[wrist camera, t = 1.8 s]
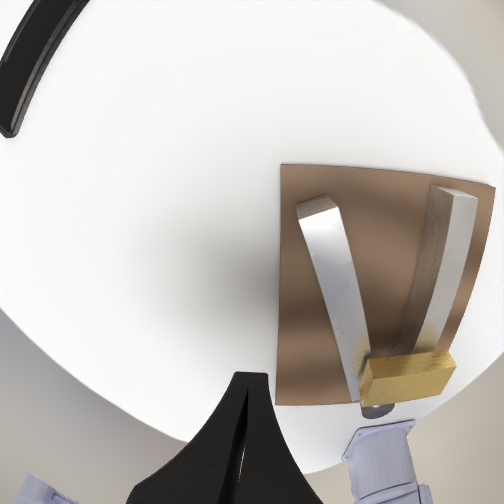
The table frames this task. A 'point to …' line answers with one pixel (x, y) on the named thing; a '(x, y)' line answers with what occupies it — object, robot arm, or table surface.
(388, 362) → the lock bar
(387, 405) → the fixed tong arm
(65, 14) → the phone
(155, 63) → the table surface
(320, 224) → the bar
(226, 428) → the robot arm
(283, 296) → the walnut board
